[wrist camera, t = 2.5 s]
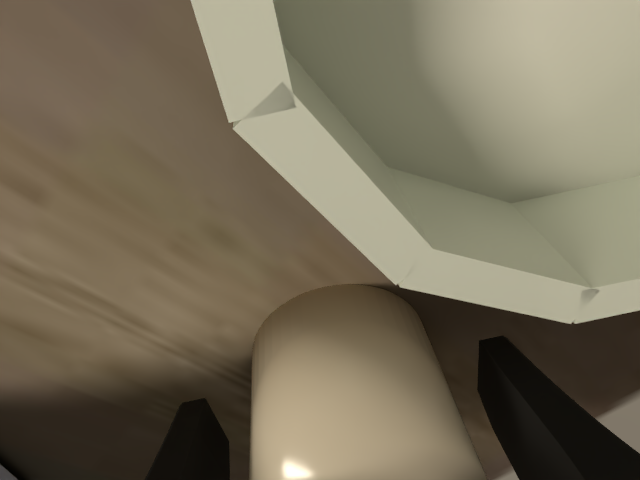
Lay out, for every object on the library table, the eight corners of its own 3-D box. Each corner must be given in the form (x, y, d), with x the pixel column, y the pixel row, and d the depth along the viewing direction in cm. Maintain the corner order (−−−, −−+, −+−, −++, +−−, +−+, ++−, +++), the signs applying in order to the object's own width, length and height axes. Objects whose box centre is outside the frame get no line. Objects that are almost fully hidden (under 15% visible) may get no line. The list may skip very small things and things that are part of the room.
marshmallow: (275, 417, 14) (280, 584, 10) (229, 306, 11) (214, 481, 8) (427, 385, 14) (485, 542, 10) (419, 265, 11) (495, 423, 8)
